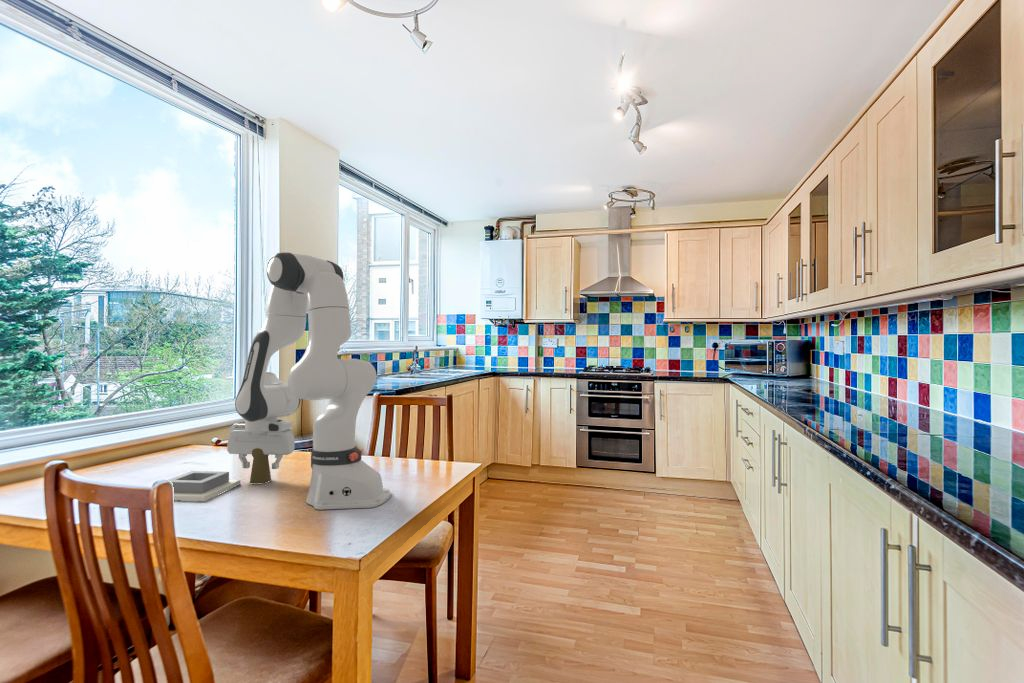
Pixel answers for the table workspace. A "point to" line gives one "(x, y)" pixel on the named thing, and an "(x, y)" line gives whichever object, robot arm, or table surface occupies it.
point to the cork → (260, 467)
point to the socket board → (207, 494)
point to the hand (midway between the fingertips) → (260, 468)
